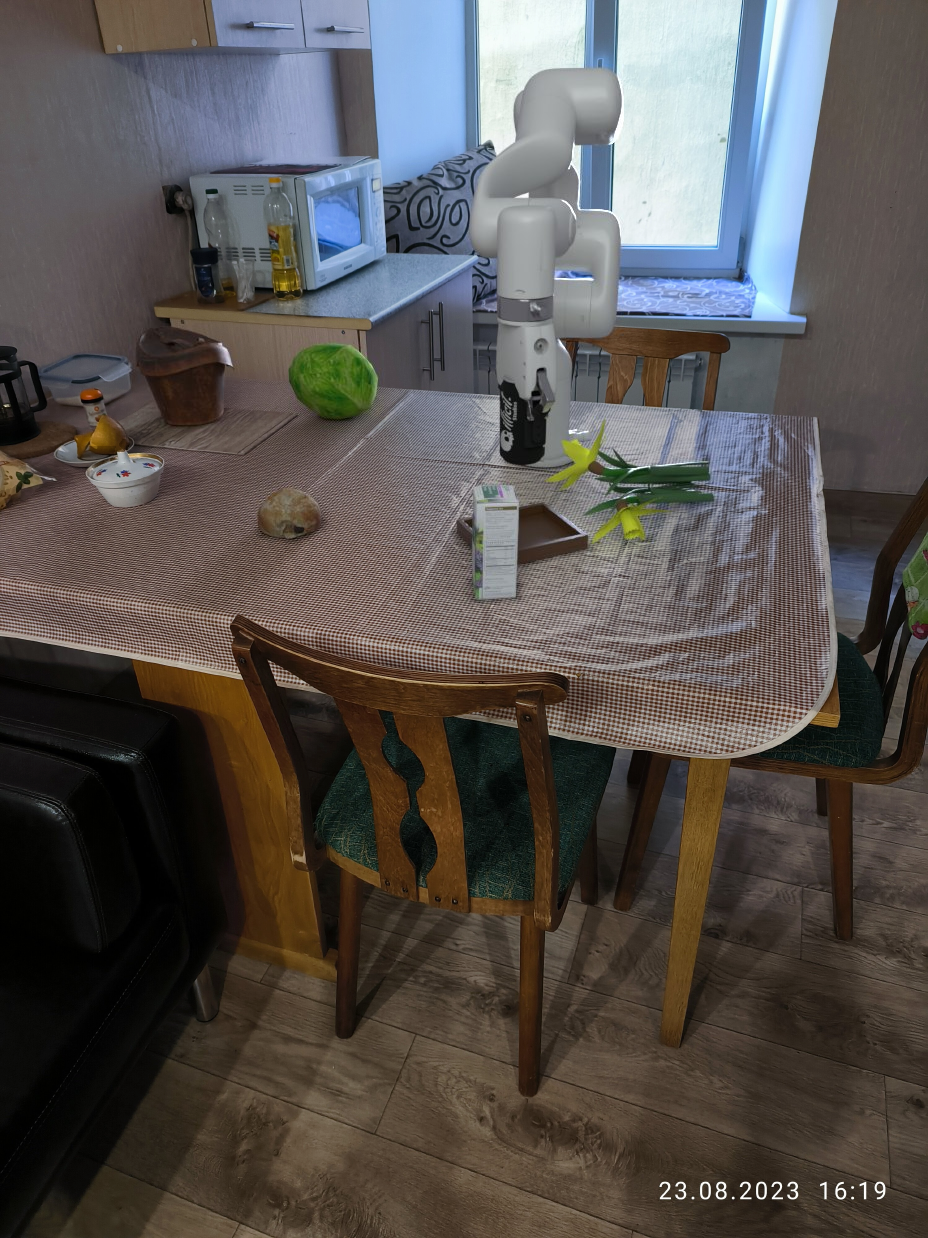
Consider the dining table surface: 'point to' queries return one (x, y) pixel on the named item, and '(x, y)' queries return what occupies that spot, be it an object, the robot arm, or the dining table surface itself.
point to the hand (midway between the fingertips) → (522, 436)
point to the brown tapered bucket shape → (183, 374)
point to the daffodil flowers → (633, 475)
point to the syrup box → (495, 541)
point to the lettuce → (333, 380)
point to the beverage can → (515, 427)
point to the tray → (538, 533)
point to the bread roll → (289, 514)
